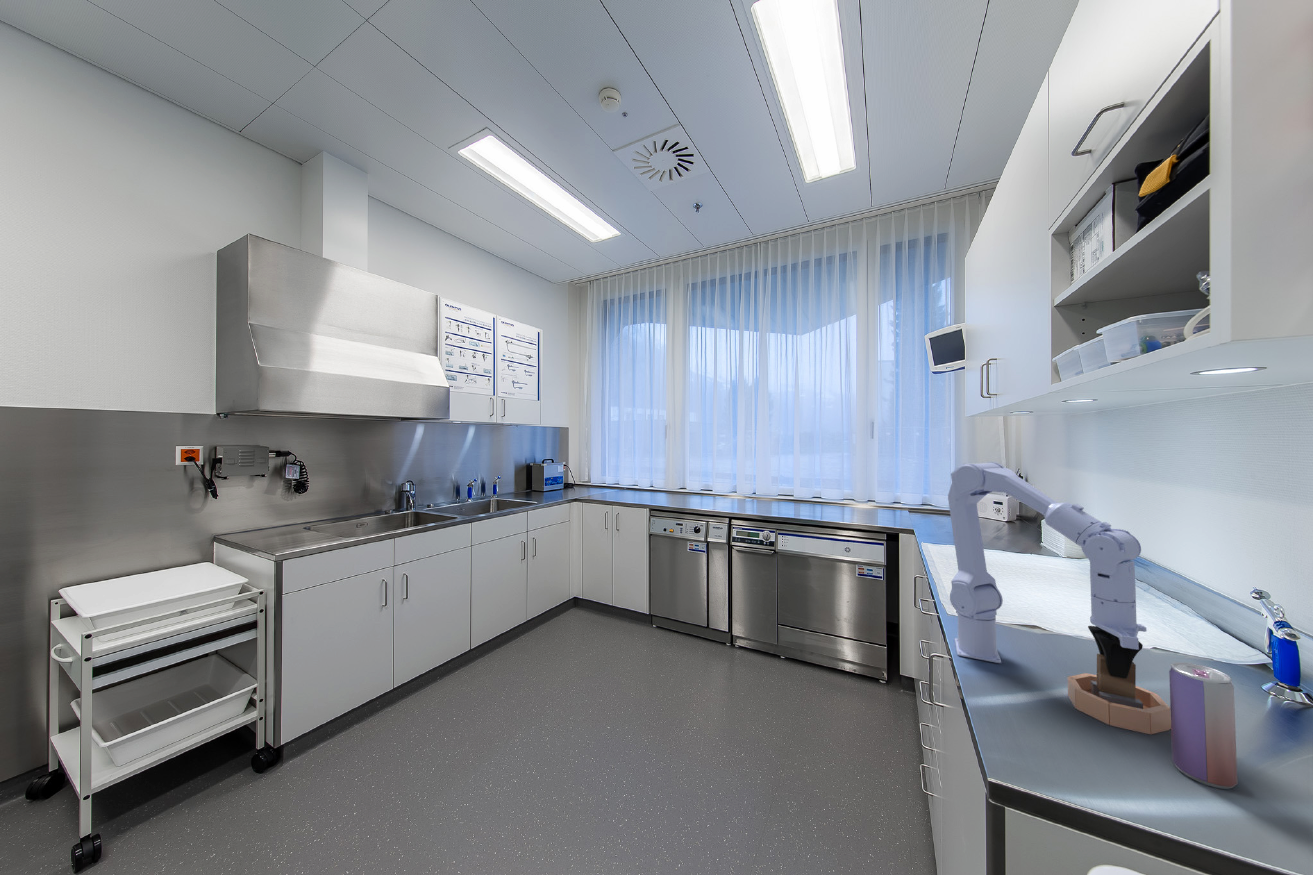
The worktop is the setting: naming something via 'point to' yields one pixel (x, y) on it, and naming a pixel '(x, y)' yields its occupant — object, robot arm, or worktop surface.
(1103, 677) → the brown rectangular block
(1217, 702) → the beverage can
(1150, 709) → the tan octagonal tray
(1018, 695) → the worktop surface
